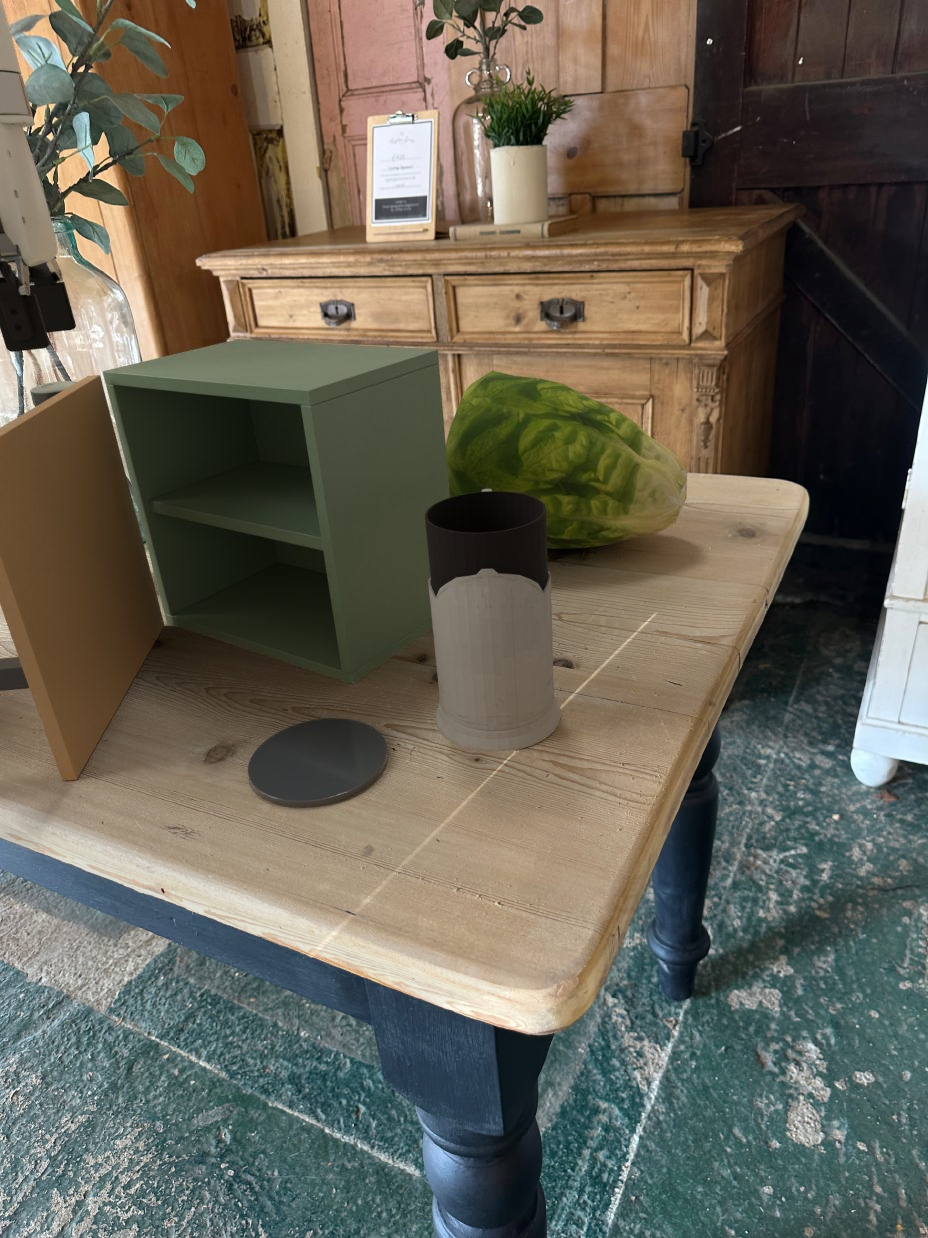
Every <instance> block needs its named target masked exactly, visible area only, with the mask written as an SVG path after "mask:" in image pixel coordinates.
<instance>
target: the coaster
mask: <svg viewBox="0 0 928 1238" xmlns="http://www.w3.org/2000/svg"><path fill="white" fill-rule="evenodd" d="M388 759H389V753H388V745H387V741H386V740H385V738H384V736H383V735H382V734H381V732H380V731H378V730H377V729H376V728H374V727H373V726H371V725H369V724H367V723H365V722H362V721H359V720H355V719H350V718H341V717H330V718H329V717H328V718H327V717H326V718H319V719H312V720H307V721H304V722H300V723H296V724H294V725H290V726H288V727H287V728H284V729H281V730H280V731H278V732H276V733H274V734H273V735H271V736H270V737H267V739H266V740H264V741H263V742H262V743H261V744H260V745H259V746H258V747H257V748H256V750H255V751H254V752H253V754H252V755H251V756H250V759H249V762H248V766H247V776H248V780H249V784H250V786H251V788H252V790H253V791H254V792H255V794H256V795H258V796H259V797H260V798H261V799H264V800H265V801H267V802H268V803H270V804H273V805H277V806H280V807H286V808H293V809H294V808H295V809H312V808H318V807H319V808H320V807H325V806H330V805H334V804H338V803H340V802H343V801H345V800H348V799H350V798H352V797H354V796H358V794H360V793H362V792H363V791H365V790H366V789H368V788H369V787H371V786H372V785H373V784H374V783H375V782H376V781H377V780H378V779H379V778H380V777H381V775H382V774H383V772H384V771H385V769H386V767H387V764H388Z"/></svg>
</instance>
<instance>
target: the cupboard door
mask: <svg viewBox="0 0 928 1238" xmlns="http://www.w3.org/2000/svg"><path fill="white" fill-rule="evenodd" d="M76 382H77V383H75V384H73V385H72V386H70V387H68V388H67V389H65V390H63V391H62V392H60V393H58V394H56V395H55V396H53V397H51V398H50V399H48V400H46V401H45V402H43V403H41V404H40V405H38V406H36V407H35V406H34V407H32V408H31V409H29V410H28V411H26V412H24V413H22V414H20V415H19V416H17V417H16V418H14V419H12V420H11V421H9V422H8V423H6V424H4V425H3V426H0V608H1V611H2V614H3V616H4V620H5V623H6V625H7V628H8V632H9V634H10V637H11V639H12V642H13V645H14V648H15V651H16V654H17V656H14V657H1V658H0V692H4V691H16V690H26V689H29V691H30V694H31V695H32V699H33V702H34V705H35V707H36V708H35V709H36V711H37V714H38V716H39V719H40V722H41V725H42V728H43V730H44V733H45V734H44V735H45V736H46V739H47V742H48V745H49V749H50V751H51V753H52V754H51V755H52V756H53V759H54V762H55V765H56V768H57V771H58V773H59V776H60V779H61V781H62V782H64V781H76V780H78V778H79V776H80V775H81V773H82V771H83V770H84V768H85V766H86V764H87V763H88V761H89V760H90V757H91V755H92V754H93V752H94V750H95V749H96V747H97V745H98V744H99V742H100V740H101V739H102V736H103V734H104V733H105V731H106V729H107V728H108V726H109V724H110V722H111V721H112V719H113V717H114V715H115V714H116V712H117V710H118V708H119V706H121V705H120V704H121V703H122V702H123V699H124V697H125V696H126V694H127V692H128V691H129V689H130V687H131V686H132V684H133V682H134V680H135V678H136V677H137V675H138V673H139V671H140V669H141V667H142V666H143V664H144V662H145V661H146V659H147V657H148V655H149V653H150V652H151V650H152V649H153V646H154V645H155V643H156V642H157V640H158V638H159V636H160V634H161V632H162V631H163V629H164V627H165V622H164V621H165V620H164V618H163V614H162V610H161V606H160V601H159V598H158V595H157V591H156V587H155V583H154V580H153V579H154V578H153V574H152V571H151V567H150V563H149V560H148V556H147V551H146V547H145V544H144V540H143V536H142V532H141V527H140V524H139V520H138V516H137V512H136V508H135V504H134V501H133V497H132V492H131V490H130V486H129V482H128V478H127V474H126V470H125V466H124V461H123V458H122V455H121V450H120V447H119V443H118V438H117V435H116V432H115V426H114V424H113V419H112V416H111V412H110V408H109V403H108V400H107V396H106V392H105V389H104V383H103V380H102V376H101V375H100V374H96V375H95V374H93V375H87V376H85V377H83V378H82V379H80V380H78V381H76Z"/></svg>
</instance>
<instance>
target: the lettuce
mask: <svg viewBox="0 0 928 1238" xmlns="http://www.w3.org/2000/svg"><path fill="white" fill-rule="evenodd" d="M445 443H446V456H447V468H448V481H449V493H450V497H453V496H457V495H462V494H467V493H474V492H482V490H483V489H492V491H507V492H516V493H522V494H526V495H530V496H533V497H535V498H537V499H539V500H541V501H542V502H543V503H544V504H545V506H546V523H547V549H556V550H557V549H559V550H574V549H586V548H594V547H595V548H596V547H601V546H609V545H613V544H617V543H619V542H622V541H623V542H624V541H625V540H629V539H636V538H640V537H648V536H653V535H656V534H658V533H660V532H663V531H665V530H667V529H668V528H670V527H671V526H673V525H675V524H676V523H677V522H678V521H677V520H678V518H679V516H680V514H681V512H682V509H683V508H684V505H685V503H686V502H687V497H688V491H687V490H688V471H687V469H686V468H685V467H684V465H683V463H682V462H681V461H680V459H679V458H678V457H677V456H676V455H675V454H674V453H673V452H672V450H670V449H668V448H667V447H665V446H664V445H663V444H661V443H660V442H659V441H657V440H656V439H654V438H653V437H652V436H650V435H649V434H648V432H646V430H644V429H643V428H642V427H641V426H640V425H639V424H638V422H636V421H634V420H633V419H631V418H630V417H629V416H627V415H626V414H624V413H622V412H621V411H620V410H617V409H615V408H613V407H611V406H609V405H607V404H605V403H603V402H601V401H598V400H596V399H592V398H591V397H588V396H586V395H585V394H583V393H581V392H579V391H577V390H575V389H573V388H572V387H570V386H569V385H567V384H565V383H561V382H558V381H553V380H549V379H546V378H540V377H531V376H519V375H513V374H509V373H505V372H500V371H497V370H496V371H495V370H491V371H489V372H488V373H486V374H484V375H482V377H480V378H478V379H476V380H475V381H473V382H471V383H470V385H468V387H467V388H466V390H465V391H464V392H463V394H462V397H461V399H460V402H459V404H458V406H457V409H456V412H455V413H454V416H453V419H452V421H451V424H450V427H449V430H448V434H447V437H446V440H445Z"/></svg>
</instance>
